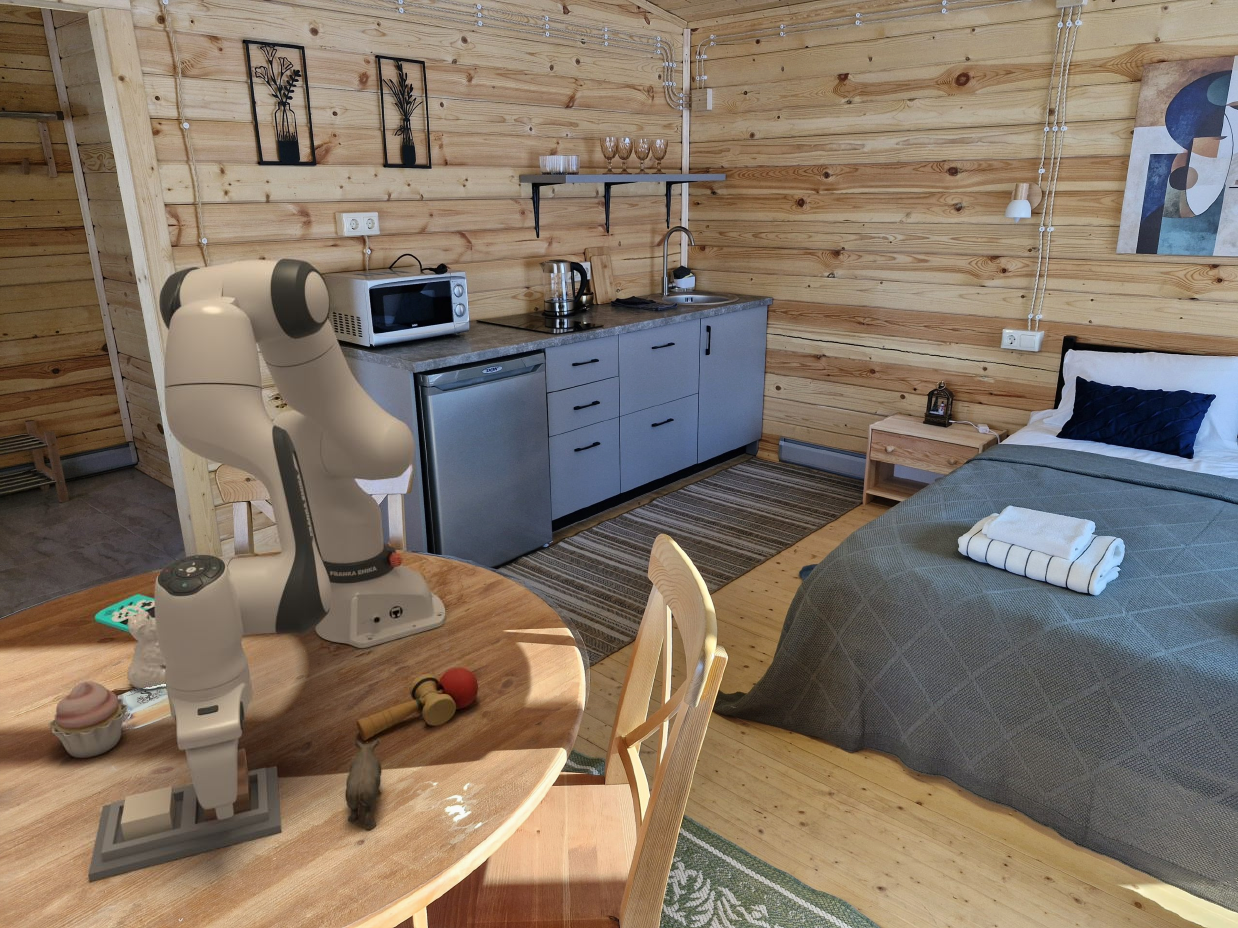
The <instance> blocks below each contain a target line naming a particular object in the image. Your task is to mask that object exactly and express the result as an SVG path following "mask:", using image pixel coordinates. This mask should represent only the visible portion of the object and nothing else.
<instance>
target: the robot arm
mask: <svg viewBox="0 0 1238 928" xmlns="http://www.w3.org/2000/svg"><path fill="white" fill-rule="evenodd" d="M158 298H159V301H158V303H159V304H158V305H159V311H160V315H161V319H162V321H163V323H164V325H165V327H166V329H167V330H168V331H167V338H166V339H167V340H166V343H165V344H166V346H165V352H164V353H165V355H164V376H163V377H164V380H163V381H164V383H163V384H164V405H165V407H164V408H165V415H166V421H167V424H168V429H169V431H170V432H171V434H172V435H173V436H174V438H175V439H176V441H177V442H179V444H181V445H182V446H183V447H184V448H185V449H187V450H188V451H190V452H192V453H193V454H195V455H197V456H200V457H201V458H203V459H206V460H209V461H213V462H216V463H219V464H222V465H226V466H228V467H231V468H235V469H237V470H239V471H243V472H245V473H247V474H250V475H251V476H253V477H255V478H256V479H257V480H258V481H259V482H261V484H262V485H263V486H264V488H265V489H266V490H267V493H268V495H269V500H270V504H271V506H272V507H271V508H272V512H273V515H274V516H273V517H274V521H275V526H276V530H277V534H278V538H279V542H280V548H281V552H280V553H278V554H275V555H266V556H263V555H262V556H249V557H248V556H246V557H235V556H234V557H218V556H215V555H210V554H196V555H190V556H189V555H188V556H185V557H182V558H180V559H177V560H175V561H172V562H170V563H169V564H168V565H166V566H165V567H163V569H161V571H159V573H158V575H157V576H156V580H155V585H154V599H155V622H156V630H157V637H158V643H159V648H160V650H161V652H162V654H163V655H164V657H165V660H166V669H165V683H166V687H165V688H166V694H167V698H168V705H169V711H170V715H171V718H172V720H173V722H174V724H175V725H174V726H175V734H176V736H175V737H176V742H177V748H178V750H180V751H184V750H185V755H186V761H187V766H188V768H189V773H190V776H191V780H192V784H194V788H195V791H196V795H197V798H198V801H199V803H200V805H201V806H202V808H204V809H212V808H215V809H216V815H217V818H218V819H220V820H221V819H226V818H230V817H232V816H233V814H234V806H233V803H234V802H235V801H236V799H237V786H238V780H237V751H238V750H239V748H238V747H239V739H240V738H241V737H242V735H243V730H244V721H245V716H246V714H247V711H248V708H249V705H250V704H251V702H252V700H253V696H254V695H253V688H252V681H251V673H250V668H249V667H250V666H249V661H248V656H247V654H246V652H245V650H244V648H243V644H242V643H243V642H242V641H243V636H245V635H256V634H257V635H259V634H271V633H276V634H283V635H286V634H287V635H290V634H291V635H305V634H307V633H308V632H310V631H311V630H313V629H314V628H315V632H316V634H317V635H318V636H319V637H320V638H322V639H324V640H327V641H329V642H333V643H334V642H335V643H340V644H341V643H342V644H347V645H350V646H353V647H355V648H358V649H367V648H369V647H374V646H376V645H380V644H383V643H387V642H390V641H393V640H397V639H401V638H405V637H408V636H412V635H414V634H415V635H416V634H419V633H422V632H425V631H429V630H432V629H436V628H440V627H441V626H443V624H444V623H445V622H446V618H447V613H446V612H447V611H446V607H445V605H444V603H443V601H442V599H441V598H440V597H439V596H437V595H436V593H433V592H431V590H430V586H429V585H428V583H427V581H426V580H425V579H424V577H423V576H422V575H421V574H420V573H419V572H417V571H415V570H413V569H411V568H409V567H407V566H404V565H403V558H402V556H401V554H400V553H398V552H397V550H396V548H395V547H393V545H392V544H391V543H390V542H387V544H386V543H384V534H383V533H384V532H383V521H382V510H381V508H380V505H379V503H378V501H377V500H376V499H375V498H374V497H373V496H372V495H370V494H369V493H368V492H367V491H365V490H364V489H363V488H362V487H361V486H360V485H359V483H358V482H357V481H356V480H366V481H379V480H380V481H381V480H390V479H396V478H399V477H401V476H402V475H404V473H406V471H407V470H408V469H409V467H411V463H412V462H413V461H414V456H415V450H416V449H415V446H416V445H415V440H414V439H415V438H414V436H413V432H412V431H411V429H410V428H409V426H408V424H406V423H405V422H404V421H402V420H400V419H399V418H397V417H396V416H395V417H394V416H393V415H392V414H391V413H388V411H385V409H383V408H382V407H381V406H380V405H379V404H378V403H377V402H376V401H375V400H374V399H372V397H371V396H370V395H369V394H368V393H367V392H366V390H364V389H363V387H362V386H361V384H359V382H358V381H357V379H356V377H355V376H354V375H353V373H352V371H351V369H350V367H349V365H348V362H347V360H346V358H345V355H344V354H343V353H344V352H343V351H342V349H341V346H340V343H339V341H338V338H337V335H336V334H335V333H336V332H335V331H334V329H333V326H332V324H331V321H330V320H329V317H330V312H331V311H330V310H331V299H330V293H329V288H328V285H327V282H326V279H325V278H324V276H323V275H322V273H321V272H320V271H319V270H318V269H317V268H316V267H314V266H313V265H312V264H311V263H310V262H308V261H304V260H301V259H293V258H281V259H280V260H274V259H271V260H270V259H269V260H268V259H245V260H243V259H241V260H236V261H234V262H227V263H221V264H215V265H214V264H212V265H210V266H209V265H208V266H205V267H204V266H203V267H198V266H193V267H190V268H185V269H182V270H179V271H177V272H174V273H173V274H170V275H169V276H168V277H167V279H166V281H164V284H163V286H162V288H161V289H160V294H159V297H158ZM258 349H259V351H258ZM259 352H260V354H261V356H262V358H263V361H264V363H265V365H266V367H267V369H268V372H269V374H270V376H271V378H272V380H273V382H274V385H275V387H276V389H277V392H278V394H279V395H280V396H279V397H281V399H282V400H283V402H284V403H285V404H286V405H287V406H289V407H290V408H291V410H286V411H283V412H280V413H278V415H276V417H274V419H273V420H272V419H271V417H270V416H269V414H268V411H267V409H266V407H265V402H264V398H263V389H262V388H263V387H262V375H261V365H260V357H259Z"/></svg>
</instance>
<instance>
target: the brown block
mask: <svg viewBox="0 0 1238 928" xmlns="http://www.w3.org/2000/svg"><path fill="white" fill-rule="evenodd" d="M248 769H249V768H248V763H247V756H246V749H245V747H244V748H240V749H239V748H238V751H237V780H238V786H237V799H236V801H235V802H234V803H233V806H234V814H233V815H235V814H239V813H243V812H247V811H251V788H250V781H249V775H248V771H249V770H248ZM203 809H204V808H203ZM204 815H205V821H206V822H207V821H211V820H215V819H218V818H217V815H216V809H215V808H212V809H204Z"/></svg>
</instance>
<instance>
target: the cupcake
mask: <svg viewBox="0 0 1238 928" xmlns="http://www.w3.org/2000/svg"><path fill="white" fill-rule="evenodd" d="M71 689H72V690H71V691H70V692H69V694H68V695H67V696H65V697H63V698H62V699H61V700H60V701H58V703H57V705H56V707H55V708H56V710H55V712H56V713H54V719H53V720H51V721H50V722H48V723H47V725H48V727H49V728H50V729H51V732H52V734H53V735H55V736H56V737H57V738H58V739H59V740H60V741H61V743H62V745H63V747H64V748H65V750H66V753H68V754H69V755H70V756H72V757H74V758H78V759H79V758H80V759H81V758H82V759H86V758H91V757H96V756H99V755H102V754H104V753H106V752H108V751H110V750H111V749H113V748H114V747H115V746H116V745H117V744H118V743H119V742H120V739H121V736H122V726H123V720H124V719H123V718H124V717H125V714H126V713H127V710H128V708H129V706H128V704H124V698H118V696H117V695H116V694H115V692H113V691H111V690H109V689H108V688H107V687H105V685H103V684H101V683H98V682H95V681H92V680H91V681H90V680H88V681H87V680H86V681H83V682H80V683H78V684H76V685H75V686H74V687H72V688H71Z"/></svg>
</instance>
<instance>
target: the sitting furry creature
mask: <svg viewBox="0 0 1238 928" xmlns="http://www.w3.org/2000/svg"><path fill="white" fill-rule="evenodd" d="M127 625H128V626H129V631H130V632H129V633H130V635H131V636H132V637H133V638H134V639H135V640H136V641H137V642H136V644H135V645H134V646H135V647H134V648H133V651H134V653H133V656H132V659H131V663H130V665H129V667H128V671H127V673H126V674H127V677H126V678H127V680H128V681H129V684H130V685H132V686H133V687H134V688H137V689H141V688H146V687H152V686H157V685H161V684H166V683H165V669H166V660H165V657H164V655H163V654H162V652H161V650H160V648H159V643H158V637H157V630H156V622H155V618H152V617H151V616H150V615H149V613H148V612H147V611H146V612H145V611H142V612H139V613H138V614H136V616H129V618H128V624H127Z"/></svg>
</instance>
